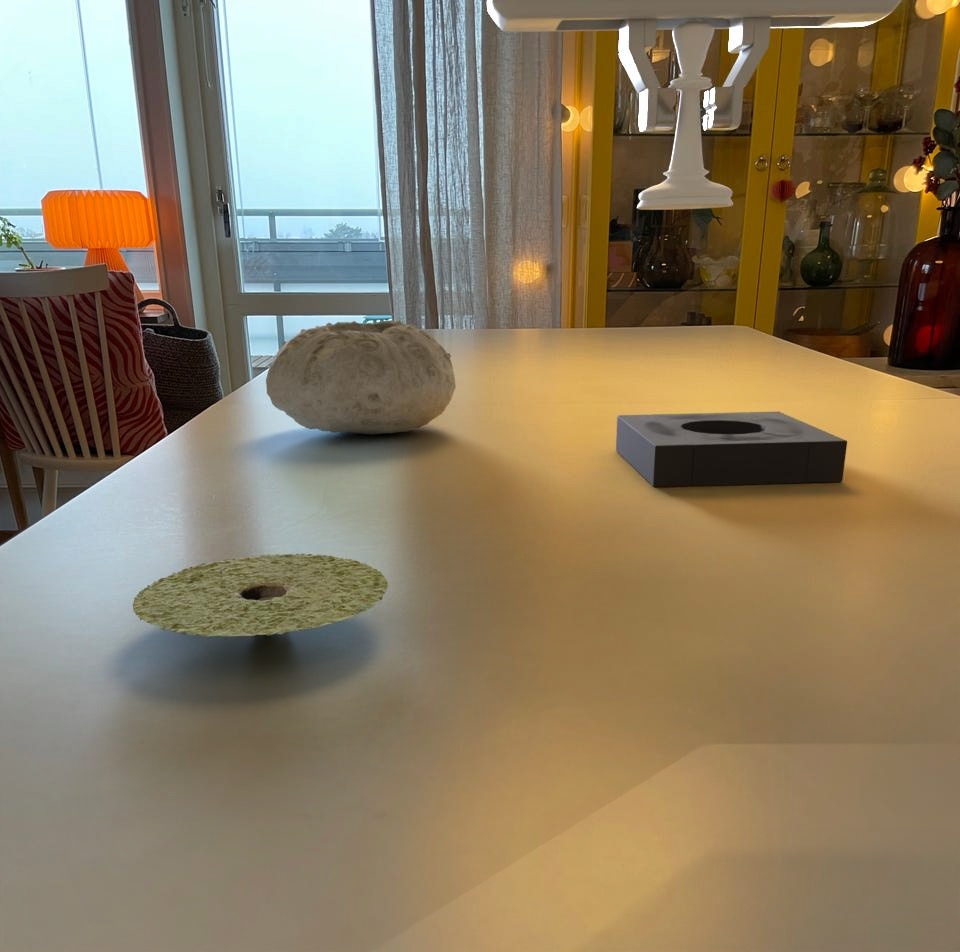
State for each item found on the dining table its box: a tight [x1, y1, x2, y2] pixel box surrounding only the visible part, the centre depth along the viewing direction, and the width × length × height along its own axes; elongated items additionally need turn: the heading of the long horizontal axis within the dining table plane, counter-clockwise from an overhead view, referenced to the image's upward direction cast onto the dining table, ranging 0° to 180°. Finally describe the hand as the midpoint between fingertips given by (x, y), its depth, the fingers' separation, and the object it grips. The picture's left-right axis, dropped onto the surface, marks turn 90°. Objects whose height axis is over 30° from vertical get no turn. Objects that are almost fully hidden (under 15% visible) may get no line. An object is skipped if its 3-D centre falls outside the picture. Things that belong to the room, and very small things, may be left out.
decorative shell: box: [265, 320, 456, 435], centre depth 92 cm, size 18×18×10 cm
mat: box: [132, 553, 389, 638], centre depth 44 cm, size 11×11×2 cm
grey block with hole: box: [615, 411, 848, 488], centre depth 76 cm, size 14×14×3 cm
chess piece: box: [636, 18, 734, 211], centre depth 49 cm, size 5×5×10 cm
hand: (688, 130), depth 49 cm, fingers closed on chess piece
